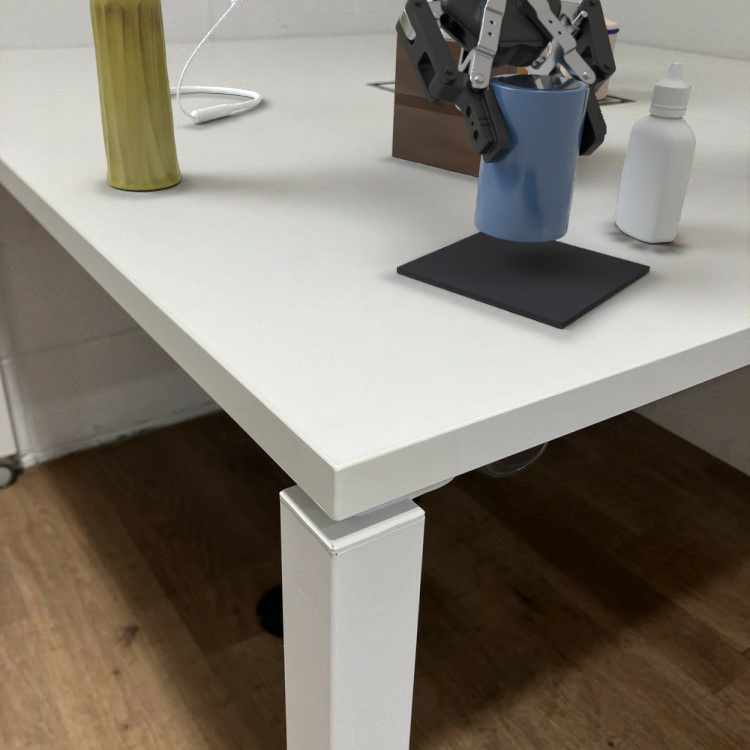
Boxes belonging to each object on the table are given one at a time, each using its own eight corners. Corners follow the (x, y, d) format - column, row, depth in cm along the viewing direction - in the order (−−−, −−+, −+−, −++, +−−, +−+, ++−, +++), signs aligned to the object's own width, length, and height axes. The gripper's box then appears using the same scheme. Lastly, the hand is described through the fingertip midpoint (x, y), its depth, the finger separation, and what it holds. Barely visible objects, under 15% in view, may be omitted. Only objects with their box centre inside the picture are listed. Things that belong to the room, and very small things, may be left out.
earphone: (82, 84, 85) (133, -45, 91) (143, 178, 100) (183, 62, 106) (204, 94, 82) (248, -40, 89) (247, 189, 98) (282, 69, 104)
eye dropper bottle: (671, 223, 63) (707, 59, 58) (675, 247, 59) (714, 71, 53) (614, 217, 64) (643, 55, 58) (613, 240, 60) (644, 67, 54)
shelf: (472, 133, 88) (482, 23, 83) (572, 154, 82) (590, 36, 76) (391, 156, 79) (396, 33, 74) (496, 181, 72) (511, 48, 67)
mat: (496, 229, 61) (497, 224, 61) (649, 271, 54) (650, 266, 54) (396, 272, 53) (396, 266, 53) (561, 329, 46) (562, 322, 46)
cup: (505, 206, 57) (521, 69, 52) (583, 227, 54) (607, 82, 49) (455, 226, 53) (468, 79, 48) (537, 250, 49) (558, 95, 45)
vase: (175, 169, 72) (159, -9, 65) (187, 188, 67) (172, -2, 60) (103, 173, 70) (79, -9, 63) (110, 194, 65) (85, -2, 58)
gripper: (386, -133, 47) (466, 123, 43) (593, -120, 52) (680, 110, 48) (350, -36, 54) (417, 193, 50) (536, -33, 59) (609, 175, 55)
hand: (546, 151), depth 49 cm, fingers closed on cup, 6 cm apart
